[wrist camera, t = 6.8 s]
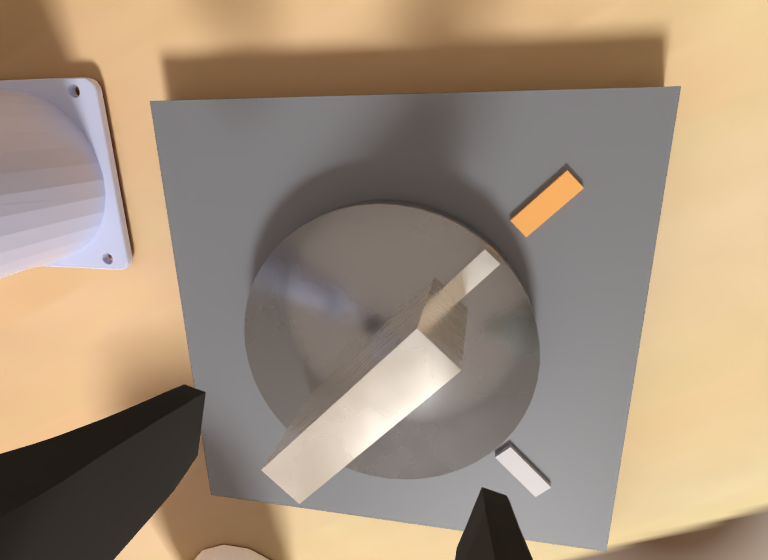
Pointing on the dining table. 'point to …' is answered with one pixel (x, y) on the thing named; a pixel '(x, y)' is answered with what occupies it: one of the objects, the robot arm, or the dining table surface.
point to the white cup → (229, 554)
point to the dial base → (475, 207)
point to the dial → (388, 345)
